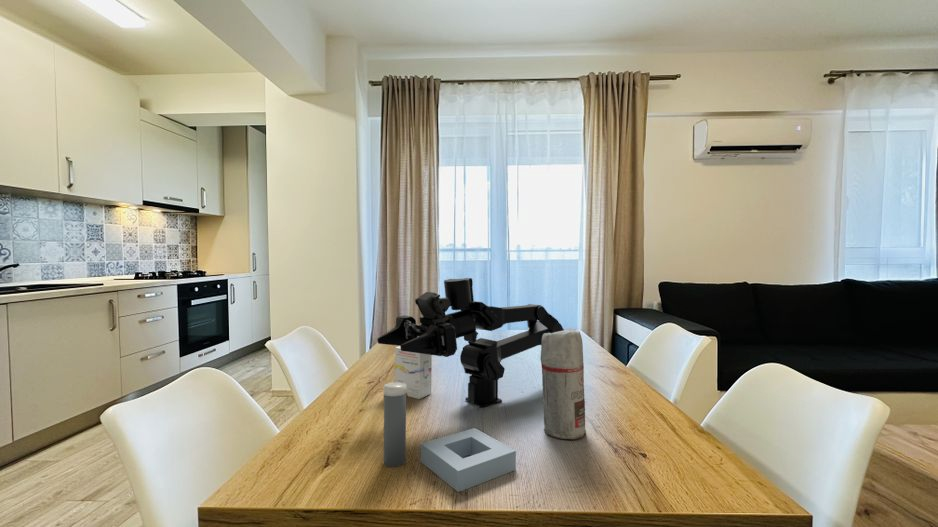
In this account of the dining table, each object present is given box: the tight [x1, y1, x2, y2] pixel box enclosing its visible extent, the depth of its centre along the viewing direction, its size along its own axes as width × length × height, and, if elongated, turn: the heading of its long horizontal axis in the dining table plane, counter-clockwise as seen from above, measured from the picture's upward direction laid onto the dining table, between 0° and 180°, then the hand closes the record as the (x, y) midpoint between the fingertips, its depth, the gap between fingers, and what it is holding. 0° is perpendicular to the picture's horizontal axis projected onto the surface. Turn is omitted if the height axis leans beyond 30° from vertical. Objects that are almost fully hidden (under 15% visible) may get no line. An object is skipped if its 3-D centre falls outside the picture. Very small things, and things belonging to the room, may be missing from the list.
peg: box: [383, 381, 407, 468], centre depth 66 cm, size 4×4×12 cm
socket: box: [420, 427, 517, 493], centre depth 65 cm, size 11×11×3 cm
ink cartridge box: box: [394, 336, 433, 400], centre depth 102 cm, size 9×5×15 cm, turn 58°
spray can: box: [540, 328, 587, 440], centre depth 79 cm, size 8×8×20 cm
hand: (388, 344), depth 80 cm, fingers open, 9 cm apart
